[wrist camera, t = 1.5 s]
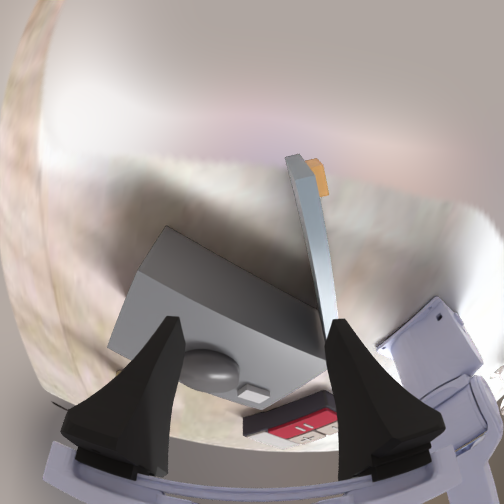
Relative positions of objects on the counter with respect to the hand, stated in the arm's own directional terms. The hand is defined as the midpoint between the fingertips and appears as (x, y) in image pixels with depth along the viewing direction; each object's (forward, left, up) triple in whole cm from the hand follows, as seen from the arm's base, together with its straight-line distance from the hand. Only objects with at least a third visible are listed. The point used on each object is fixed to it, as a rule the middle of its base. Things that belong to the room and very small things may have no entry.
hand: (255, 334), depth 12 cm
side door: (-2, +4, -9) cm, 10 cm away
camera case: (+8, +2, -10) cm, 13 cm away
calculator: (+23, +24, -10) cm, 34 cm away
